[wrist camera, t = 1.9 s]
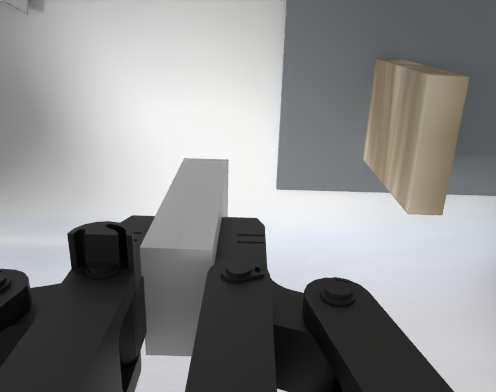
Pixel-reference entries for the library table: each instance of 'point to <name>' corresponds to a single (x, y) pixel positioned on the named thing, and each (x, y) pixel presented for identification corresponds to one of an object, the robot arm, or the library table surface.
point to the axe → (19, 4)
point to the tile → (414, 131)
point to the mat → (361, 78)
